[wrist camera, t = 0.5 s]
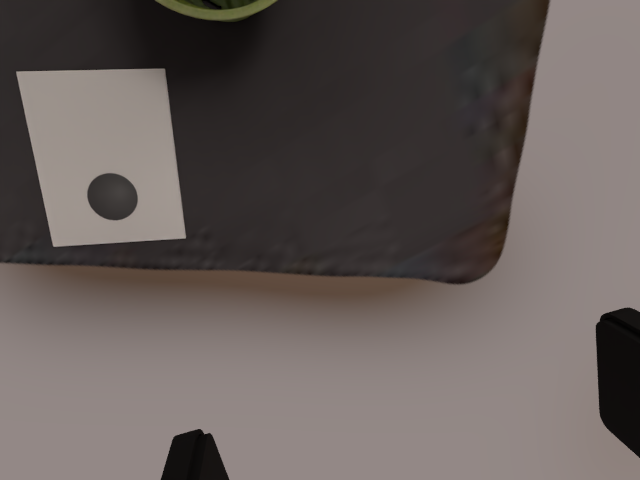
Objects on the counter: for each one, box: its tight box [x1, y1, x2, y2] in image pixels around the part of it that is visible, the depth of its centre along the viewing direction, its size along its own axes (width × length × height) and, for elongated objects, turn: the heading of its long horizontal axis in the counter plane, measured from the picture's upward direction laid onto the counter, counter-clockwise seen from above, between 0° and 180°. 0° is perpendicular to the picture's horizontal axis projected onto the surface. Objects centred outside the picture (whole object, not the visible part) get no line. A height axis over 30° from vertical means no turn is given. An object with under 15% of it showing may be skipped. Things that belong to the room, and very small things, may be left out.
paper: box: [16, 69, 186, 247], centre depth 35 cm, size 14×11×1 cm
